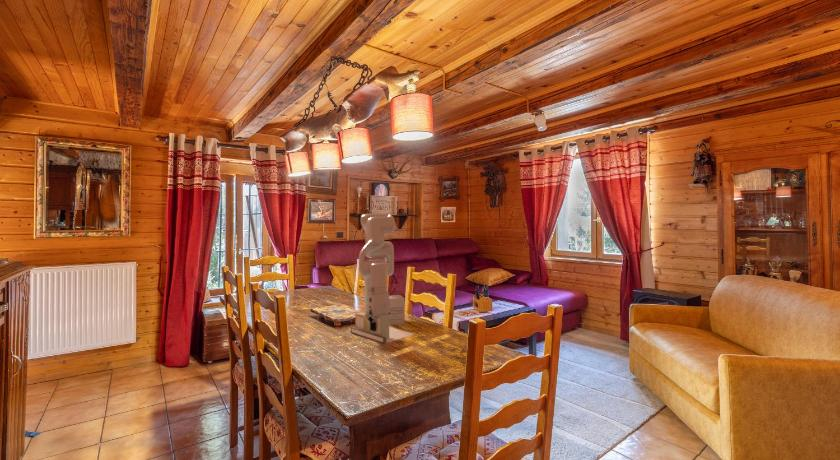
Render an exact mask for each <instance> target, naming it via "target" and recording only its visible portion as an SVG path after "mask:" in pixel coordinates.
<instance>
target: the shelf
mask: <svg viewBox="0 0 840 460" xmlns="http://www.w3.org/2000/svg"><path fill="white" fill-rule="evenodd" d="M351 333H352V334H354V335H357V336H360V337H363V338H367V339H369V340H372V341H375V342H377V343H380V344H384V345H385V344H388V343H391V342H395V341H398V340H401V339H405V338H407V337H410V336H412V335H415V333H413V332H409V331H407V330H403V329H399V328H396V327H392V326H389V338H388V339H386V337H383V336H380V335H377V334H373V333H370V332H367V331H364V330H361V329H358V328H356V327H354V326H351V327H350V334H351Z"/></svg>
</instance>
